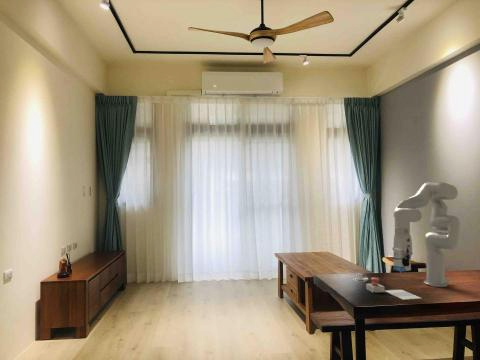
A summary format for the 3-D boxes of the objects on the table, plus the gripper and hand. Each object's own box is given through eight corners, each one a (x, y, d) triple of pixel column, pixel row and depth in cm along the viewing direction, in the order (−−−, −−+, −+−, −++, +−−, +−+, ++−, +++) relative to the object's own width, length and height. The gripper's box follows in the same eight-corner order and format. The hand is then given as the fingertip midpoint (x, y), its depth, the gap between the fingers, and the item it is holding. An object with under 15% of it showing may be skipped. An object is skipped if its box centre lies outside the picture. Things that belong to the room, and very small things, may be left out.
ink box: (400, 271, 188) (400, 249, 189) (392, 270, 193) (392, 248, 193) (411, 270, 192) (411, 248, 193) (403, 268, 197) (403, 247, 197)
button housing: (377, 288, 204) (377, 283, 204) (384, 291, 197) (384, 286, 197) (366, 289, 203) (366, 283, 203) (373, 292, 196) (373, 287, 196)
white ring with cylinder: (369, 280, 223) (369, 274, 223) (364, 283, 217) (364, 276, 217) (356, 278, 229) (356, 272, 229) (351, 280, 223) (351, 274, 223)
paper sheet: (401, 290, 201) (401, 289, 201) (421, 298, 186) (421, 298, 186) (384, 291, 199) (384, 290, 199) (403, 299, 183) (403, 299, 183)
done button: (376, 285, 203) (376, 277, 203) (380, 287, 198) (380, 279, 198) (369, 286, 202) (369, 277, 202) (373, 288, 197) (373, 279, 198)
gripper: (419, 233, 186) (419, 268, 185) (398, 229, 202) (398, 261, 202) (406, 233, 184) (406, 268, 183) (386, 229, 201) (386, 261, 200)
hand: (402, 264), depth 193 cm, fingers closed on ink box, 6 cm apart
